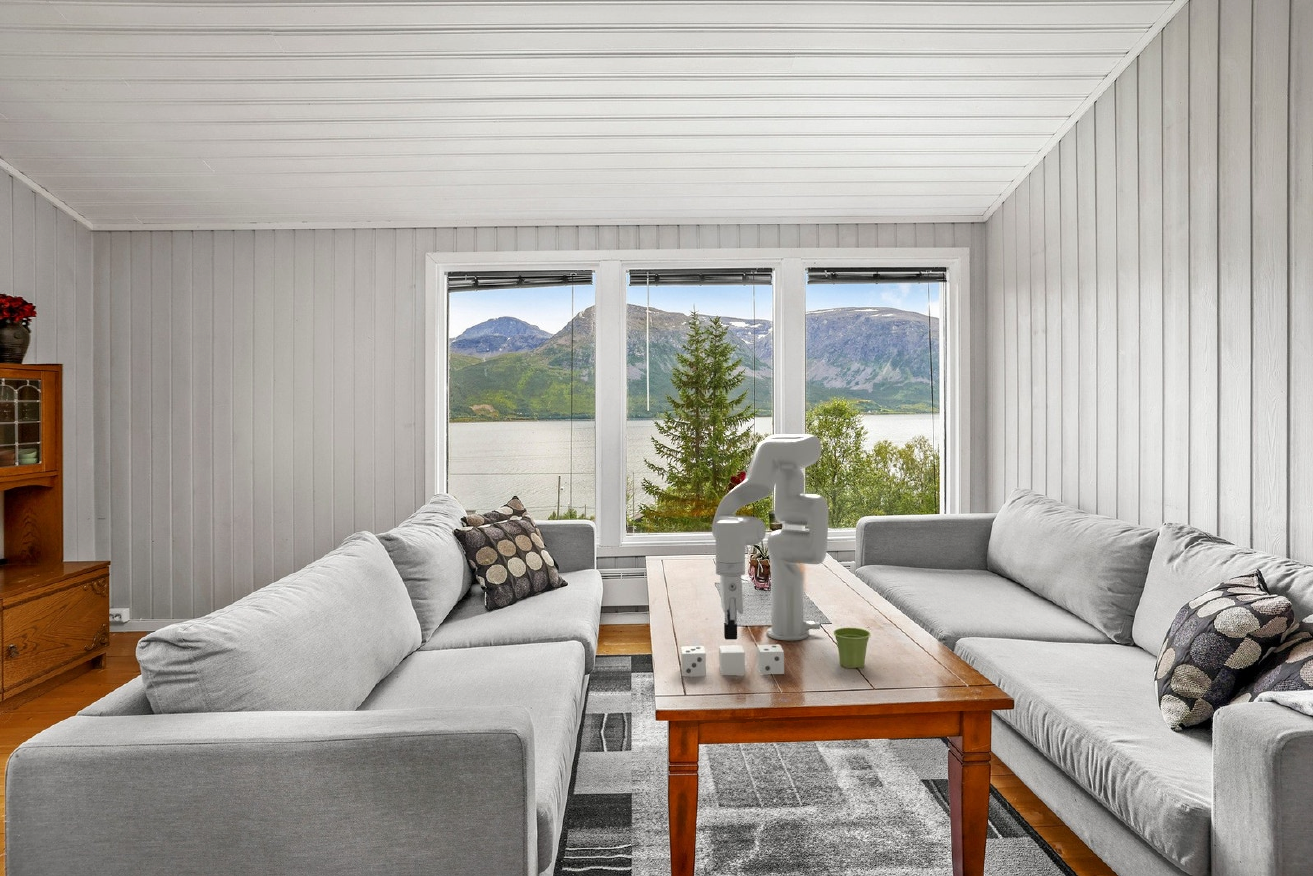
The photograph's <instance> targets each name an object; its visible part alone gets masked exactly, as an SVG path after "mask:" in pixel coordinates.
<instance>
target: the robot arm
mask: <svg viewBox="0 0 1313 876" xmlns="http://www.w3.org/2000/svg"><path fill="white" fill-rule="evenodd" d="M821 454H822V443H821V441H820V439H819V438H818V437H817V436H816V435H813V434H805V433H804V434H803V433H802V434H798V433H796V434H793V433H792V434H791V433H789V434H788V433H785V434H784V433H781V434H771V435H768V436H767V437H765V438H764V440H761V441H760V442H758V443H757V445H756V446H755V448H754V451H753V454H752V457H751V459H750V463H749V466H748V469H747V471H746V473H745V475H744V480H743V481H742V482H741V483H739V484H738V485H736V486H735V487H734V488H733V489H731V490H730V491H729V492H728V493H727V494H726V495H724V497H723V498H722V499H721V501H720V502H719V504H718V507H717V509H716V512H715V514H714V517H713V520H712V526H711V532H712V533H711V534H712V536H713V539H715V574H716V575H718V576H719V578H720V579H719V582H720V583H719V585H720V589H719V591H720V603H721V604H720V606H721V609H722V611H723V613H724V623H723V625H724V626H723V636H724V637H723V638H724V639H725V640H726V641H727V640H728V641H729V640H734V641H735V640H737V639H738V623H737V622H738V621H737V620H738V619H737V618H738V615H737V614H740V615H743V614H744V603H743V601H744V599H743V595H744V594H743V581H742V580H743V578H742V576H744V575H745V574H746V546H755V545H759V544H760V543H761V542H763V540H764V539H765V537H766V534H767V528H766V523H765V522H764V521H763V520H762V519H761V518H760V517H756V516H748V515H736V514H735V513H736V512H737V511H739V510H740V509H742V508H743V507H745V506H747V505H749V504H752V503H755V502H757V501H761V500H764V499H766V498H767V497H769V496H771V495H772V493H773V492H774V493H775V494H774V511H773V512H774V518H775V520H776V521H777V523H779V524H782V525H786V526H796V527H797V526H800V527H808V530H798V529H785V528H784V529H777V530H776V529H775V530H774V531H772V532H770V534H769V535H768V537H767V543H766V546H767V554H768V558H769V565H770V567H769V568H770V594H771V595H770V600H771V601H770V603H771V605H770V606H771V607H770V609H771V614H770V616H771V617H770V618H771V619H770V620H771V626H770V627H769V628H767V629H766V630H765V633H766V636H767V637H768V638H772V639H774V640H778V641H788V642H789V641H791V642H792V641H802V640H804V639H807V638H808V637H809V636H810V630H820V629H821V623H820V622H814V621H812V620H811V621H806V620H805V618H804V613H805V612H804V605H805V604H804V602H805V601H804V575H803V572H802V571H801V569H800V567H799V565H798V564H805V565H820V564H821V563H824V561H825V559H826V556H827V553H828V552H827V551H828V536H829V535H828V533H829V504H828V502H827V500H826V499H825V497H824V496H822V495H819V494H816V493H815V494H814V493H813V494H812V493H805V475H804V473H803V471H802V469H805V468H807V467H809V466H811V465H814V464H816V463H817V462H818V461H819V459H820V457H821ZM774 490H775V491H774Z"/></svg>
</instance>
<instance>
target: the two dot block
mask: <svg viewBox="0 0 1313 876" xmlns="http://www.w3.org/2000/svg"><path fill="white" fill-rule="evenodd" d="M756 656H757V657H756V659H757V660H756V661H757V663H756V664H757V665H756V666H757V667H756V668H757V669H759V670H758V671H759V675H761V674H784V675H785V651H784V650H783V647H782V646H781V644H780V643H779V644H756Z"/></svg>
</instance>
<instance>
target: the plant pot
mask: <svg viewBox="0 0 1313 876" xmlns="http://www.w3.org/2000/svg"><path fill="white" fill-rule="evenodd" d="M833 636H835V640H836V644H837V650H838V656H839V663H840V665H841V666H842V667H844V668H846V669H856V668H859V669H861V668H864V666H865V662H866V653H867V646H868V642H869V638H870V637H871V632H870V631H868V630H867V629H864V628H859V627H858V628H857V627H841V628H837V629H835V630H833Z"/></svg>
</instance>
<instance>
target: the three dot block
mask: <svg viewBox="0 0 1313 876" xmlns="http://www.w3.org/2000/svg"><path fill="white" fill-rule="evenodd" d="M680 655H681V656H680V662H681V663H680V665H681V669H682V670H681V669H680V670H681V676H690V677H707V665H706V663H707V662H706V661H707V658H706V656H707V655H706V649H705V646H704V645H695V646H694V645H692V646H691V645H690V646H687V645H686V646H680Z"/></svg>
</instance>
